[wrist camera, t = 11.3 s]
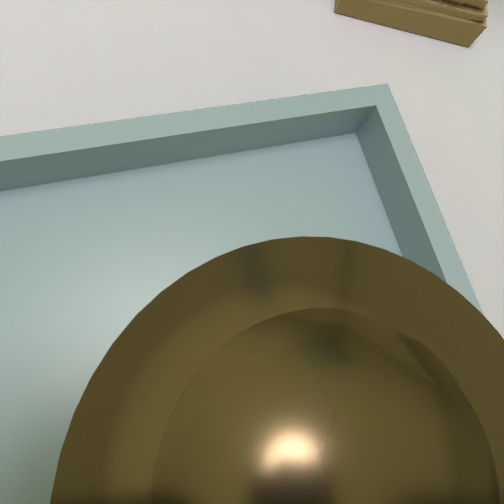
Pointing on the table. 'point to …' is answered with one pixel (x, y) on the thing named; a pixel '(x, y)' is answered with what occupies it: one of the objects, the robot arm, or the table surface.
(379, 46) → the table surface
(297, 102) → the tray
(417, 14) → the banker's lamp
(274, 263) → the pin
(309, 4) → the table surface
